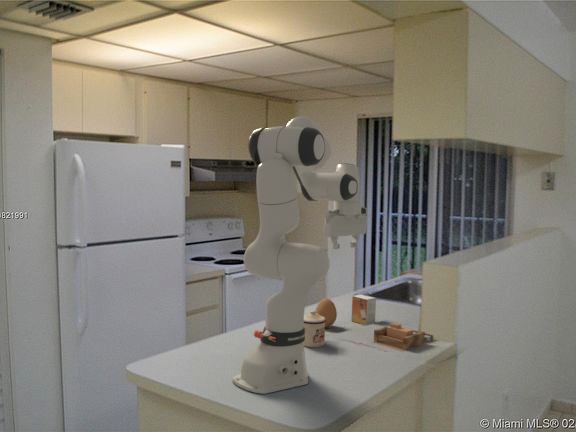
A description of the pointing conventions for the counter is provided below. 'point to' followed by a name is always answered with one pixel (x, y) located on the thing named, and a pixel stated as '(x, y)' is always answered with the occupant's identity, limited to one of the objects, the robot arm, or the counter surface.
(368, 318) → the small box
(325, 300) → the egg
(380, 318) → the counter surface
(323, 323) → the teacup with lid
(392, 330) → the block
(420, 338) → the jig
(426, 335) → the plank
